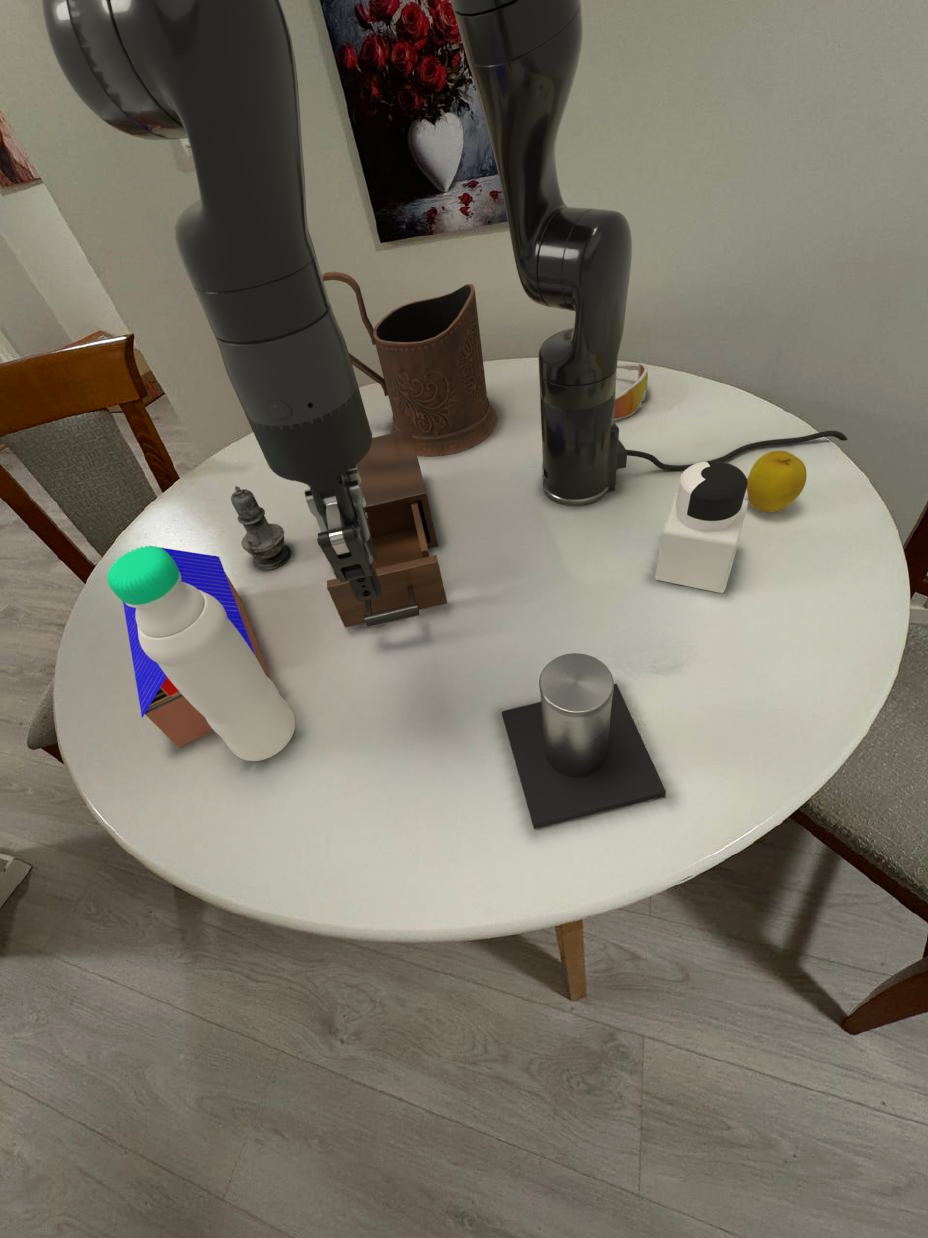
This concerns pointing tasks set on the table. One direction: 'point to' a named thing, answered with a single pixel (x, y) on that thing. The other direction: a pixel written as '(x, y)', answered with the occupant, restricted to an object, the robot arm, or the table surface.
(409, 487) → the cabinet
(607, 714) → the metal canister
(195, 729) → the house
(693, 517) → the container
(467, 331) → the brown embossed pitcher
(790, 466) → the apple
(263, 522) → the stone chess piece
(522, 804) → the table surface
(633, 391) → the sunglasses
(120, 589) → the water bottle
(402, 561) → the drawer
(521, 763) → the coaster mat
